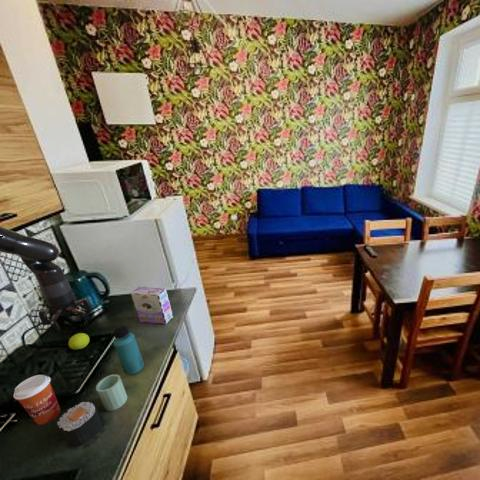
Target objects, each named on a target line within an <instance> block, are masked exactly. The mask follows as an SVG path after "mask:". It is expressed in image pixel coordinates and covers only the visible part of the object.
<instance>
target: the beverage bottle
mask: <svg viewBox="0 0 480 480" xmlns="http://www.w3.org/2000/svg"><path fill="white" fill-rule="evenodd" d="M113 337H114V338H115V339H114V340H113V341H112V345H113V346H114V349H115V352H116V354H117V358H118V360H119V363H120V364H121V365H120V366H121V368H122V371H123V372H124V374H125V375H127V376H132V375H135V374H137V373H139V372H140V371H142V369H143V368H144V366H145V361H144V358H143V356H142V353H141V350H140V347H139V345H138V342H137V340H136V336H135V334H134V333H132V332H130V331H129V328H128V327H127V326H126V325H121V326H119V327H116V328H115V329H114V330H113Z"/></svg>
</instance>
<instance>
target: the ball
mask: <svg viewBox="0 0 480 480" xmlns="http://www.w3.org/2000/svg"><path fill="white" fill-rule="evenodd" d="M90 340H91V339H90V336H89V335H88V334H87V333H85V332H84V333H83V332H79V333H75V334H74V335H72V336H71V337H70V338H69V340H68V347H69V348H70V349H72V350H75V351H80V350H83V349H85V348H86V347H87V346H88V345H89V343H90ZM79 349H80V350H79Z"/></svg>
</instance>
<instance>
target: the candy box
mask: <svg viewBox="0 0 480 480" xmlns="http://www.w3.org/2000/svg"><path fill="white" fill-rule="evenodd" d="M129 294H130V297H131V301H132V304H133V307H134V310H135V313H136V315H137V316H136V317H137V319H138V321H139V323H145V324H154V325H155V324H156V325H164V326H165V325H167V324H169V322H170V321H171V320H173V319H174V314H173V310H172V307H171V303H170V298H169V295H168V290H167V288H163V287H162V288H161V287H148V286H138V287H137V288H135V289H134V290H133V291H131V292H130V293H129Z"/></svg>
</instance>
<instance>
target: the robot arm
mask: <svg viewBox="0 0 480 480" xmlns="http://www.w3.org/2000/svg"><path fill="white" fill-rule="evenodd" d="M0 236H3V237H2V238H0V253H5V254H9V255H16V256H19V257H20V259H21V261H22V262H23V264H24V265H25V266H26V267H27V268H28V270H29V271H30V272H31V273H32V274H33V275H34V277H35V279H36V281H37V283H38V286H39V288H40V292H41V295H42V296H43V298H44V300H45V302H46V304H47V307H48V308H40V309H39V311H38V317H39V319H40V322H41V325H42V326H48V325H50V326H51V328H52V330H53V331H54V332H57V333H59V332H60V331H61V327H60V325H59V323H58V321H57V320H58V318H59V317H65V316H67V315H71V314H72V315H73V313H74V314H76V315H81V316H82V318H83V321H84V323H85V324H88V323H89V321H90V316H89V313H91V312H92V310H93V308H92V305H91V303H90V301H89V299H88V297H86V296H84V297H83V298H81V299H77V298H76V297H75V294H74V291H73V289H72V287H71V285H70V282H69V281H68V280H67V278H66V275H65V273H64V271H63V268H62V267H61V266H60V265H59V264H57V263H54V261H56V259H58V257H59V255H60V249H59V248H58V247H57V245H55V244H54V243H52V242H50V241H46V240H43V239H39V238H35V237H33V236H27V235H24V234H22V233H19V232H17V231H14V230H11V229H9V228H6V227H3V226H0ZM79 304H80V305H82V306H84V308H82V306H80V305H79ZM49 313H51V314H53V315H52V317H51V319H49V318H48V314H49Z"/></svg>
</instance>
